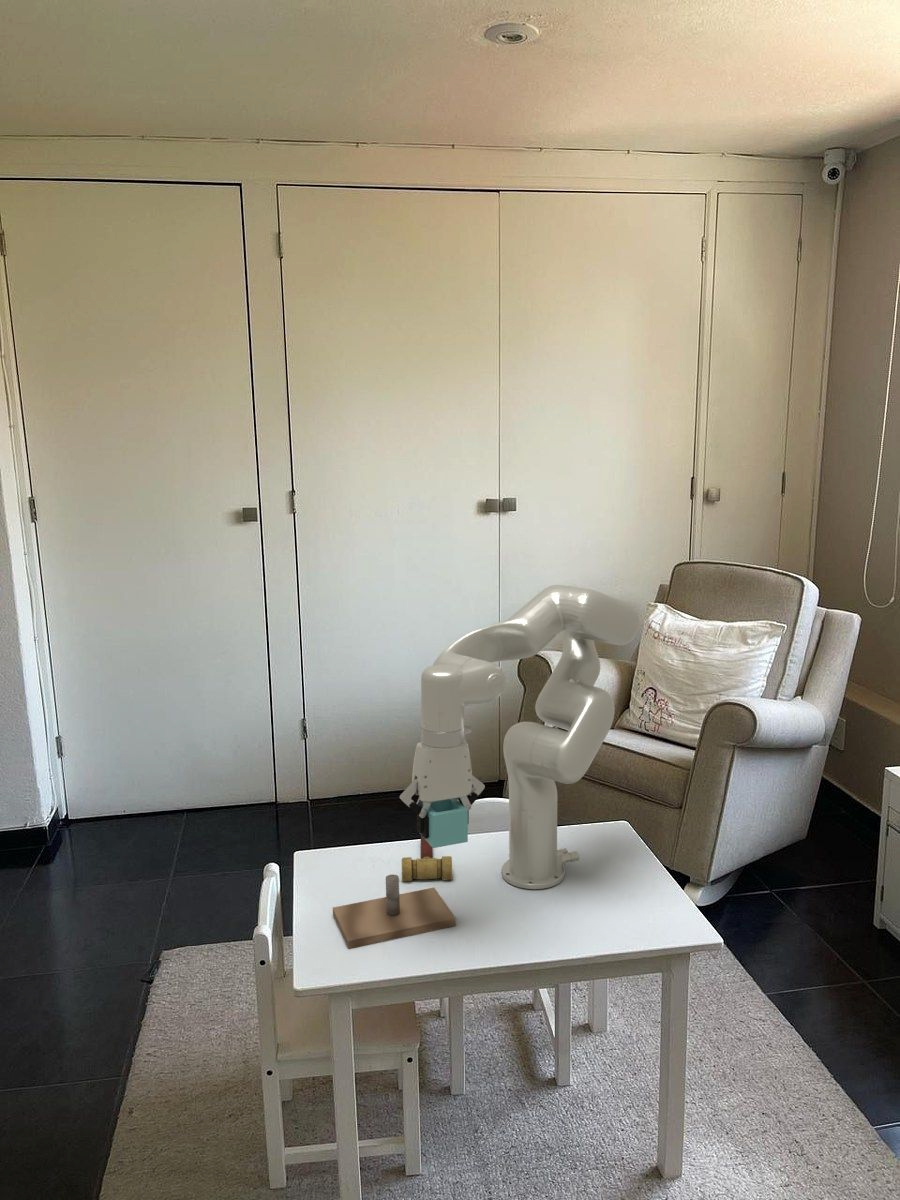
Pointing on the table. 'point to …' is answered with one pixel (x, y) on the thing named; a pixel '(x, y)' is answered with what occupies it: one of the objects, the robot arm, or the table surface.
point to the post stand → (392, 915)
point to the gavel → (426, 865)
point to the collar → (447, 823)
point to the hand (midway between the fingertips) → (442, 831)
